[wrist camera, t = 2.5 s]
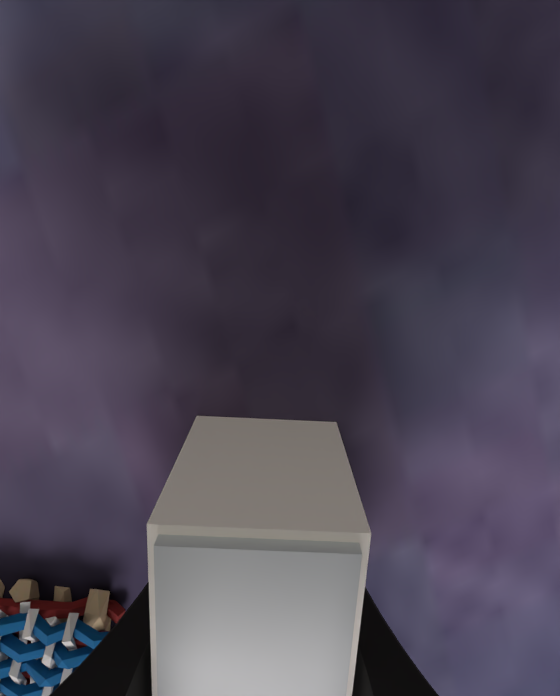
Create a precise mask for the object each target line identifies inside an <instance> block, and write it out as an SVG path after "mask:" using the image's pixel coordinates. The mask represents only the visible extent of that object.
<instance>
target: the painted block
mask: <svg viewBox="0 0 560 696" xmlns="http://www.w3.org/2000/svg"><path fill="white" fill-rule="evenodd" d="M370 540H371V531H370V528H369V525H368V521H367V518H366V515H365V512H364V509H363V505H362V502H361V499H360V496H359V493H358V489H357V486H356V483H355V480H354V477H353V474H352V470H351V467H350V464H349V461H348V458H347V454H346V451H345V448H344V445H343V442H342V438H341V435H340V432H339V429H338V426H337V422H324V421H302V420H280V419H258V418H236V417H214V416H196V419H195V421H194V423H193V425H192V427H191V429H190V432H189V434H188V436H187V438H186V440H185V442H184V445H183V447H182V449H181V451H180V453H179V455H178V458H177V460H176V462H175V464H174V466H173V468H172V471H171V473H170V475H169V477H168V479H167V481H166V484H165V486H164V488H163V490H162V492H161V494H160V497H159V499H158V501H157V503H156V505H155V507H154V510H153V512H152V514H151V516H150V518H149V520H148V523H147V546H148V579H149V612H150V644H151V677H152V696H352V691H353V682H354V674H355V666H356V657H357V649H358V641H359V632H360V624H361V615H362V607H363V599H364V590H365V582H366V573H367V565H368V557H369V548H370Z"/></svg>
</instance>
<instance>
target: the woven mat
mask: <svg viewBox="0 0 560 696" xmlns="http://www.w3.org/2000/svg"><path fill="white" fill-rule="evenodd" d="M4 590H5V586H4V585H3V583H2V581H1V579H0V696H49V695H50V694H51V693H52V692H53V691H54V690H55V689H56V688H57V687H58V686H59V685H60V684H61V683H62V682H63V681H64V680H65V679H66V678H67V677H68V676H69V675H70V674H71V673H72V672H73V671H74V670H75V669H76V668H77V667H78V666H79V665H80V664H81V663H82V662H83V661H84V660H85V659H86V657H87V656H88V655H89V654H90V653H91V652H92V651H93V650H94V649H95V647H96V646H97V645H98V644H99V643H100V642H101V641H102V639H103V638H104V637H105V636H106V635H107V634H108V633H109V632H110V624H111V620H113V621H114V622H115V623H117V622H118V621H119V619H120V618H121V617H122V616H123V614H124V613H125V609H124V608H123V607H122V606H121V605H120V604H119V603H118V602H117V601H115V600H110V599H109V595H110V591H105V590H99V589H90V591H89V596H88V597H86V598H83V599H80V600H77V601H74V602H72V598H71V592H70V588H68V587H59V586H55V591H54V600H53V601H43V600H39V589H38V583H37V582H36V581H34V580H32V579H19V580H18V581H17V582H16V583H15V585H14V586H13V587H12V589H11V590H10V591H9V593H10V594H11V596H12V598H13V599H9V598H3V594H4ZM83 615H84V617H83V622H82V621H81V620H79V619H78V617H80V616H83ZM44 619H46V620H47V622H46V621H45V620H44ZM11 633H15V634H18V638H17V637H15V636H14V635H12V634H11ZM6 655H7V656H6ZM8 656H9V657H8ZM41 660H42V661H41Z"/></svg>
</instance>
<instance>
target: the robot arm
mask: <svg viewBox="0 0 560 696" xmlns="http://www.w3.org/2000/svg"><path fill="white" fill-rule="evenodd" d="M49 696H152V677H151V644H150V612H149V582H148V583H147V585H146V586H145V587H144V589H143V590H142V591H141V593H140V594H139V595H138V597H137V598H136V599H135V601H134V602H133V603H132V604H131V606H130V607H129V608H128V609H127V611H126V612H125V613H124V614H123V616H122V617H121V618H120V619H119V621H118V622H117V623H116V624H115V626H114V627H113V628H112V629H111V630H110V632H109V633H108V634H107V635H106V636H105V637H104V638H103V639H102V641H101V642H100V643H99V644H98V645H97V646H96V647H95V649H94V650H93V651H92V652H91V653H90V654H89V655H88V656H87V657H86V659H85V660H84V661H83V662H82V663H81V664H80V665H79V666H78V667H77V668H76V669H75V670H74V671H73V672H72V673H71V674H70V675H69V676H68V677H67V678H66V679H65V680H64V681H63V682H62V683H61V684H60V685H59V686H58V687H57V688H56V689H55V690H54V691H53V692H52V693H51V694H50V695H49ZM352 696H439V695H438V694H437V693H436V692H435V690H434V689H433V688H432V687H431V685H430V684H429V683H428V681H427V680H426V679H425V678H424V676H423V675H422V674H421V672H420V671H419V670H418V668H417V667H416V665H415V664H414V663H413V661H412V660H411V659H410V657H409V656H408V654H407V653H406V651H405V650H404V649H403V647H402V646H401V644H400V643H399V641H398V640H397V638H396V637H395V635H394V634H393V632H392V630H391V629H390V627H389V626H388V624H387V623H386V621H385V620H384V618H383V616H382V615H381V613H380V612H379V610H378V608H377V606H376V605H375V603H374V601H373V600H372V598H371V596H370V594H369V593H368V591H367V589H366V587H365V590H364V599H363V607H362V615H361V624H360V632H359V641H358V649H357V657H356V666H355V674H354V682H353V691H352Z"/></svg>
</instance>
